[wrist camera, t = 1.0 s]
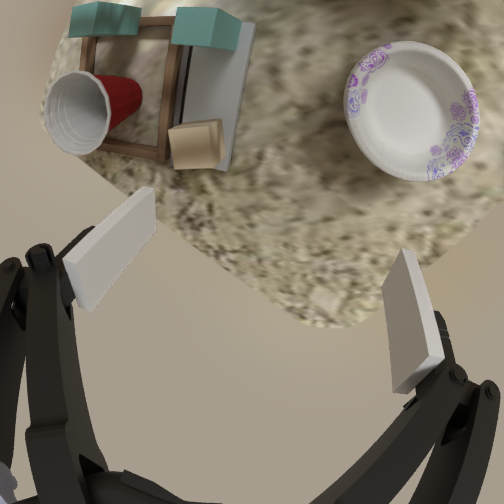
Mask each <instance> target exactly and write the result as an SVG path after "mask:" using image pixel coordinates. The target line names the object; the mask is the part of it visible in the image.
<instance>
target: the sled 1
mask: <svg viewBox="0 0 504 504" xmlns="http://www.w3.org/2000/svg"><path fill="white" fill-rule="evenodd" d="M141 11H142V8H138V7H133V6H127V5H121V4H114V3H107V2H99V1H98V2H93V3H88V4H84V5H79V6H75V7H73V10H72V15H71V22H70V29H69V36H68V38H73V37H83V38H82V47H81V57H80V68H79V70H80V71H86V72H90V73H91V74H93V66H94V56H95V47H96V39H97V37H98V36H127V35H137V34H138V28H139V27H146V26H172V30H171V35H170V41H169V47H168V54H167V61H166V68H165V75H164V83H163V91H162V100H161V110H160V121H159V133H158V147H154V146H148V145H142V144H136V143H130V142H124V141H117V140H110V139H104V140H103V141H102V143H101V145H100V146H99V147H98V148H96V150H103V151H109V152H115V153H120V154H126V155H131V156H137V157H142V158H147V159H153V160H158V161H163V162H165V161H166V160H168V159H169V158H170V154H171V146H170V140H169V134H168V130H169V129H171V128H173V121H174V112H175V103H176V95H177V87H178V80H179V73H180V66H181V60H182V54H183V48H184V45H177V44H171V39H172V34H173V28H174V23H175V17H176V16H161V17H141V18H140V16H141Z"/></svg>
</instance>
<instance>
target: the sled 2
mask: <svg viewBox="0 0 504 504" xmlns="http://www.w3.org/2000/svg"><path fill="white" fill-rule="evenodd" d="M256 27H257V24H255V23H250V22H242V21H240V20H239V19H237V18H235V17H233V16H232V15H230V14H228V13H226V12H224V11H223V10H221V9H219V8H208V7H178V8H177V12H176V17H175V23H174V28H173V34H172V39H171V44H177V45H187V46H193V51H192V57H191V63H190V69H189V76H188V83H187V90H186V97H185V104H184V112H183V121H182V123H184V122H188V121H198V120H209V119H222V124H223V133H224V143H225V152H226V156H225V157H224V158H223V159H222V160H221V161H220V162H219V163H218V164H217V165H216V166H215V167H214V168H212V169H216V170H221V171H225V172H227V171H228V170H229V166H230V160H231V154H232V149H233V143H234V137H235V132H236V126H237V121H238V115H239V110H240V105H241V100H242V94H243V89H244V84H245V79H246V74H247V69H248V64H249V60H250V55H251V50H252V45H253V41H254V36H255V31H256Z"/></svg>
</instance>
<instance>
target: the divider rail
mask: <svg viewBox="0 0 504 504" xmlns="http://www.w3.org/2000/svg"><path fill="white" fill-rule="evenodd" d="M192 51H193V46H187V45H184V48H183V54H182V60H181V66H180V73H179V80H178V87H177V95H176V103H175V112H174V121H173V127H175V126H177V125H180V124H182V121H183V112H184V104H185V97H186V90H187V83H188V76H189V69H190V63H191V57H192ZM170 166H172V167H174V164H173V158H172V152H171V154H170Z"/></svg>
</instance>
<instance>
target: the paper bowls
mask: <svg viewBox="0 0 504 504" xmlns="http://www.w3.org/2000/svg"><path fill="white" fill-rule="evenodd" d="M343 106H344V114H345V118H346V121H347V125H348V127H349V130H350V132H351V134H352V136H353V138H354V140H355V142H356V144H357V146H358V147H359V149H360V150H361V151H362V153H363V154H364V155H365V156H366V157H367V158H368V159H369V160H370V161H371V163H373V164H374V165H375V166H377V167H378V168H379V169H380V170H382V171H384V172H385V173H387V174H389V175H391V176H393V177H396V178H399V179H402V180H406V181H413V182H426V181H432V180H436V179H439V178H442V177H445V176H447V175H448V174H450V173H452V172H453V171H455V170H456V169H457V168H458V167H460V166H461V165H462V163H464V161H465V160H466V159H467V157H468V156H469V154H470V153H471V151H472V149H473V147H474V145H475V142H476V139H477V136H478V131H479V121H480V117H479V107H478V101H477V98H476V94H475V91H474V89H473V87H472V85H471V83H470V81H469V79H468V77H467V76H466V74H465V73H464V71H463V70H462V69H461V68H460V67H459V65H458V64H457V63H456V62H455V61H454V60H452V59H451V58H450V57H449V56H448V55H446V54H445V53H443V52H442V51H440V50H438V49H436V48H434V47H432V46H429V45H426V44H423V43H420V42H415V41H396V42H391V43H388V44H385V45H382V46H380V47H378V48H376V49H374V50H372V51H370V52H369V53H367V54H366V55H364V56H363V57H362V58H361V59H360V60H359V61H358V62H357V63H356V65H355V66H354V67H353V69H352V70H351V72H350V74H349V76H348V79H347V82H346V85H345V90H344V97H343Z"/></svg>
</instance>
